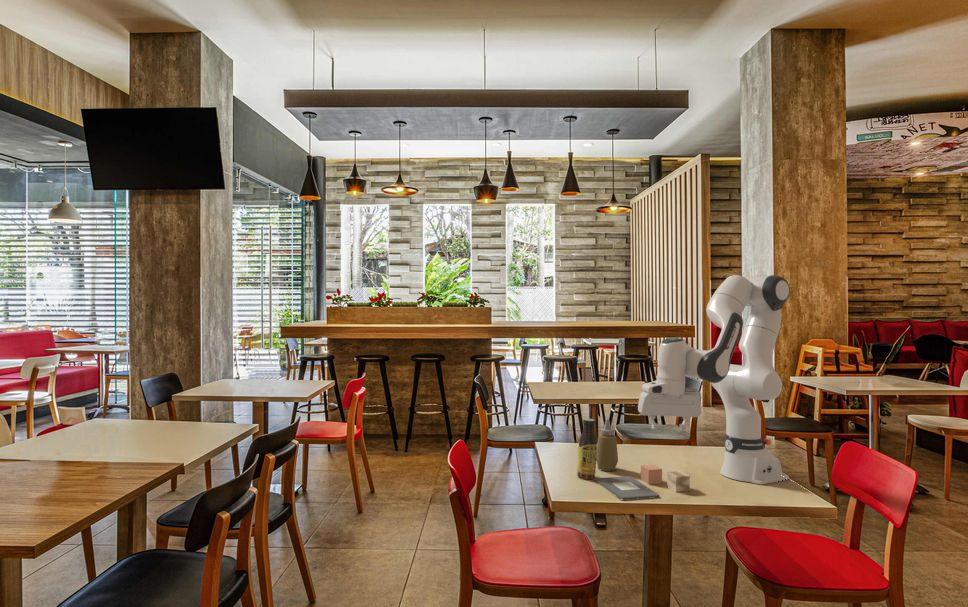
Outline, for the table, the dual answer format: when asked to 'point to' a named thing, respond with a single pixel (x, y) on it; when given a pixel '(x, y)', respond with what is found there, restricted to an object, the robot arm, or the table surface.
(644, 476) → the terracotta block
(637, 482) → the board
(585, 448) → the sauce bottle
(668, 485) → the birch block
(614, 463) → the squeeze bottle
